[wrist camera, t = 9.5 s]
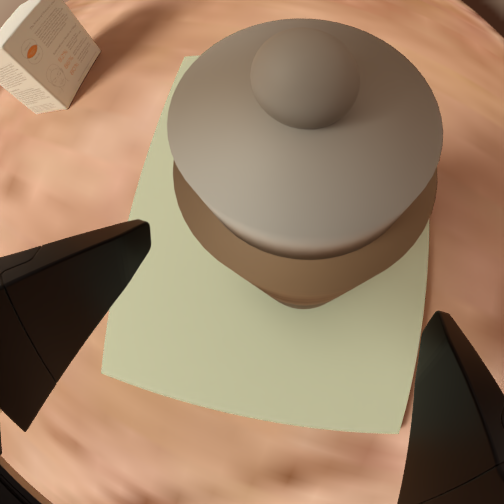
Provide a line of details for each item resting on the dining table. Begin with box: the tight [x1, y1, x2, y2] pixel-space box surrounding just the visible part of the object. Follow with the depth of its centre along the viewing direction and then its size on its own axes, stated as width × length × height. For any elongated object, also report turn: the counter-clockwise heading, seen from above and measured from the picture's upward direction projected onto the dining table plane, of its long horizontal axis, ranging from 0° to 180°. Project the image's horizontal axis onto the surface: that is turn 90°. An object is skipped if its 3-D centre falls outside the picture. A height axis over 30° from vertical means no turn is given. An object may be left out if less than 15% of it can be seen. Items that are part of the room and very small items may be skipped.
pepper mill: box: [167, 19, 443, 309], centre depth 10 cm, size 5×5×14 cm
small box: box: [0, 0, 101, 114], centre depth 19 cm, size 8×6×10 cm
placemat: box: [101, 56, 429, 434], centre depth 18 cm, size 24×18×1 cm
